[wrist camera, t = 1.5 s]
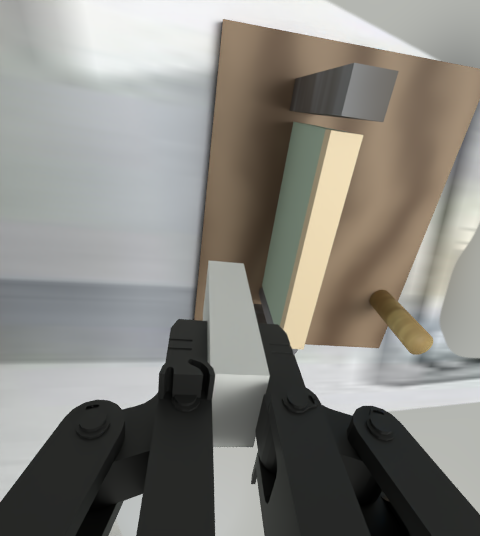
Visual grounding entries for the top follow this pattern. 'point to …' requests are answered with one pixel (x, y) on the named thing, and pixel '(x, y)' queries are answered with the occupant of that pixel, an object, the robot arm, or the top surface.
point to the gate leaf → (306, 225)
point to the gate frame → (363, 178)
